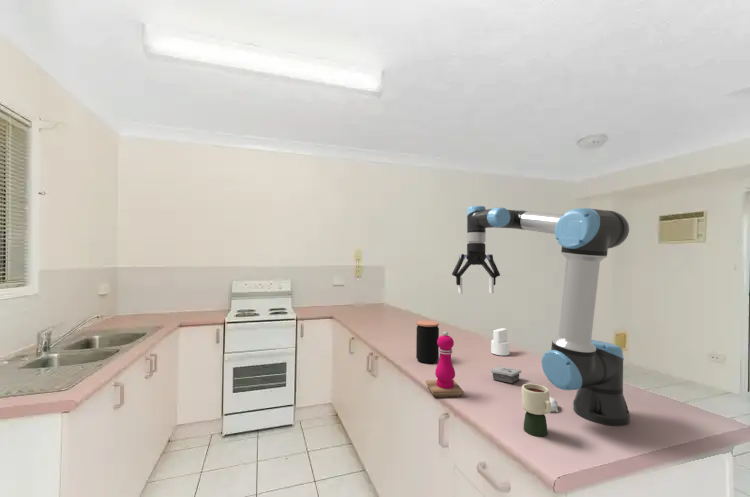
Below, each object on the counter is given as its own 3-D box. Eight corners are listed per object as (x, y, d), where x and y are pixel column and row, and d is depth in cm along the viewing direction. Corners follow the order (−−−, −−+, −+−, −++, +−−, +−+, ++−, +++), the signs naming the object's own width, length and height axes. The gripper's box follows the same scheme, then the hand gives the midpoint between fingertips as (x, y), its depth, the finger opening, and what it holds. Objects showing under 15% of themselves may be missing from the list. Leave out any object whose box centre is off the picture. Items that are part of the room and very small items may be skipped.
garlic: (557, 417, 109) (557, 405, 109) (534, 411, 112) (534, 400, 112) (559, 407, 116) (559, 396, 116) (537, 402, 119) (537, 391, 119)
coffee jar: (442, 359, 166) (442, 322, 166) (433, 365, 157) (433, 325, 157) (421, 355, 172) (422, 319, 172) (412, 361, 163) (412, 323, 163)
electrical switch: (513, 374, 133) (490, 365, 140) (511, 387, 133) (488, 378, 140) (522, 370, 140) (500, 362, 146) (520, 382, 140) (498, 374, 147)
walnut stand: (463, 398, 121) (463, 391, 121) (433, 399, 121) (433, 391, 121) (453, 386, 132) (453, 379, 132) (425, 386, 131) (425, 380, 132)
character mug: (560, 441, 94) (560, 394, 94) (539, 445, 92) (539, 397, 92) (531, 422, 104) (531, 379, 105) (512, 425, 102) (512, 382, 102)
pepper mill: (459, 387, 125) (459, 332, 125) (442, 390, 122) (442, 334, 122) (447, 380, 131) (448, 328, 131) (431, 383, 129) (432, 329, 129)
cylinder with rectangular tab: (496, 349, 184) (497, 327, 185) (512, 353, 178) (512, 330, 178) (487, 352, 179) (487, 329, 179) (503, 356, 172) (503, 332, 172)
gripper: (500, 243, 150) (499, 291, 150) (444, 242, 148) (444, 291, 147) (508, 243, 143) (508, 294, 142) (450, 242, 140) (450, 294, 140)
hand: (475, 293), depth 145 cm, fingers open, 13 cm apart
